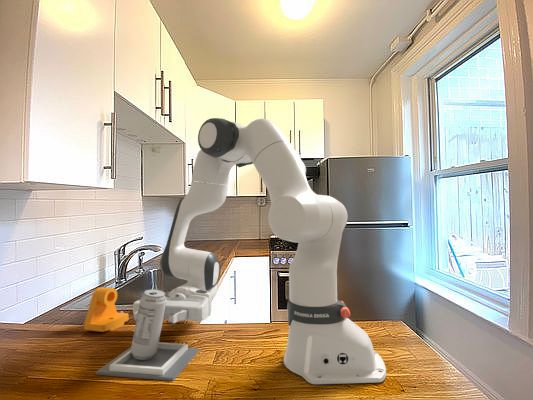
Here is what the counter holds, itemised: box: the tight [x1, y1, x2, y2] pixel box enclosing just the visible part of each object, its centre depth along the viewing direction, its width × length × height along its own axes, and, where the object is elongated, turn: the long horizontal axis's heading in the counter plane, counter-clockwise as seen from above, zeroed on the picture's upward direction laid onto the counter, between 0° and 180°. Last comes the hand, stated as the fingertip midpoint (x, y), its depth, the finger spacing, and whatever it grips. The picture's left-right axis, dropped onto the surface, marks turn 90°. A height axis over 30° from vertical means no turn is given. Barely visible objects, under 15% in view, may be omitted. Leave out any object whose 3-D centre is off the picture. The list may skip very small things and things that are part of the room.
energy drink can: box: [130, 288, 167, 360], centre depth 73 cm, size 6×6×15 cm
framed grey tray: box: [95, 341, 200, 382], centre depth 71 cm, size 18×14×2 cm
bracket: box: [83, 286, 130, 333], centre depth 95 cm, size 11×7×12 cm, turn 164°
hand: (153, 318), depth 72 cm, fingers open, 8 cm apart
